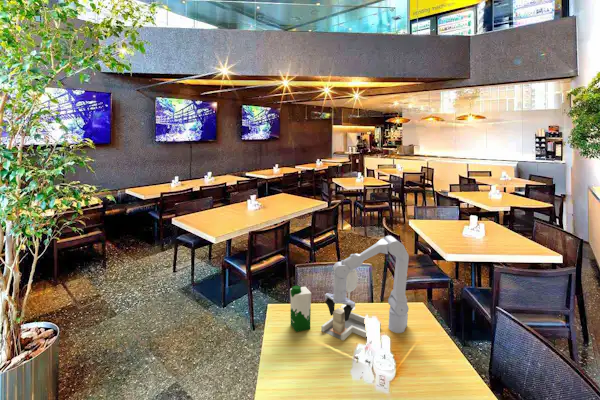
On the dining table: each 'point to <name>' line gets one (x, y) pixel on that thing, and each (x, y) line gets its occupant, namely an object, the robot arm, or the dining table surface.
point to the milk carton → (300, 308)
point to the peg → (338, 320)
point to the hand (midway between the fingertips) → (339, 317)
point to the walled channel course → (347, 327)
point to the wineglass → (351, 284)
